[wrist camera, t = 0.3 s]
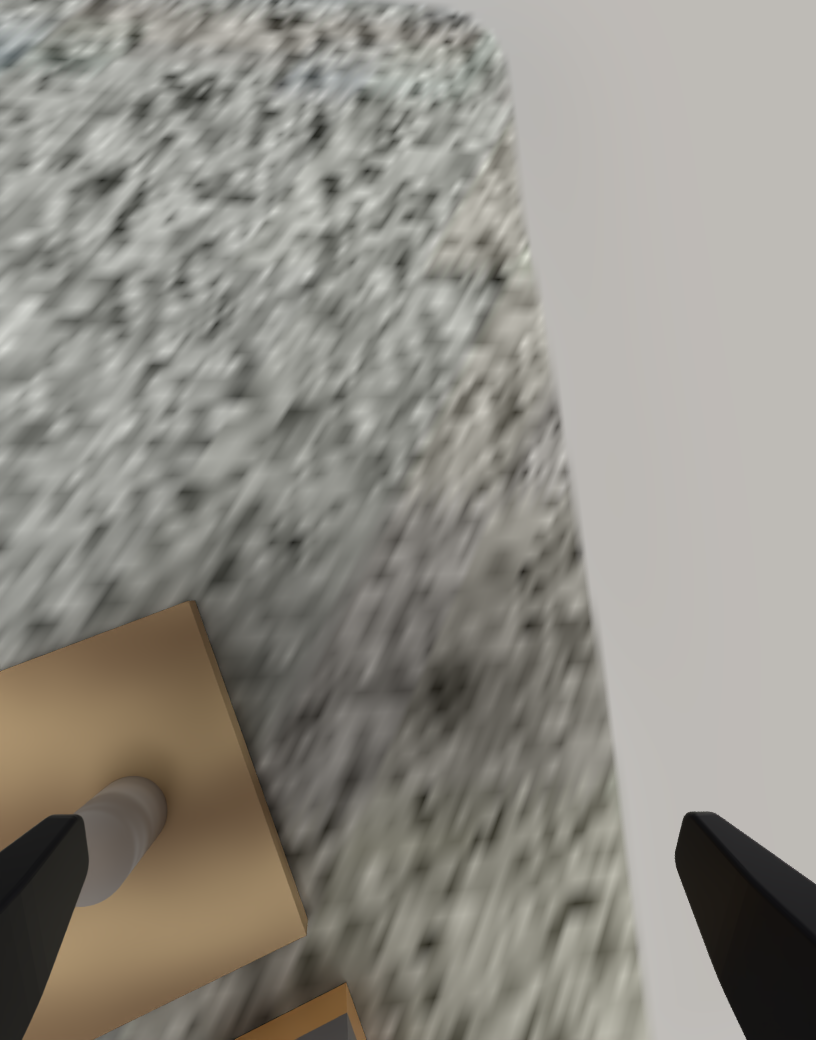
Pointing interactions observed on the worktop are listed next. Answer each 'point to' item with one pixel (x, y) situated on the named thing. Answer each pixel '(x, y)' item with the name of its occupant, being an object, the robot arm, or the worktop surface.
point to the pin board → (207, 832)
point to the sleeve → (315, 1020)
